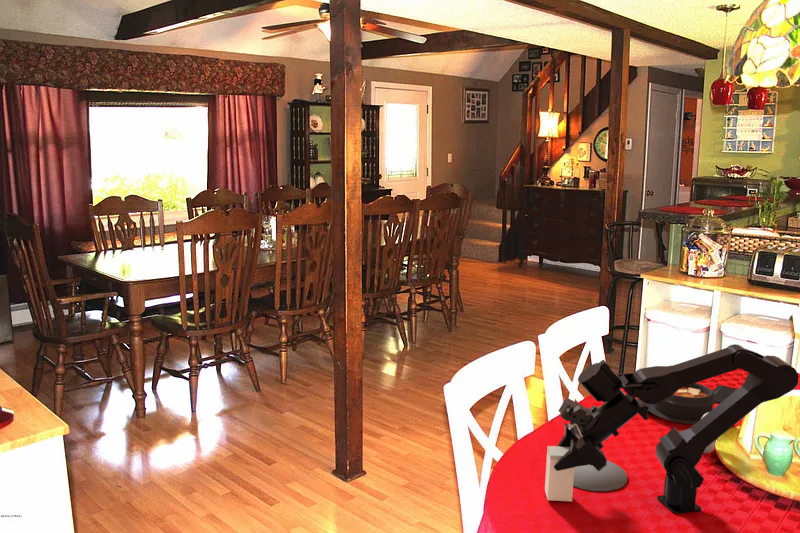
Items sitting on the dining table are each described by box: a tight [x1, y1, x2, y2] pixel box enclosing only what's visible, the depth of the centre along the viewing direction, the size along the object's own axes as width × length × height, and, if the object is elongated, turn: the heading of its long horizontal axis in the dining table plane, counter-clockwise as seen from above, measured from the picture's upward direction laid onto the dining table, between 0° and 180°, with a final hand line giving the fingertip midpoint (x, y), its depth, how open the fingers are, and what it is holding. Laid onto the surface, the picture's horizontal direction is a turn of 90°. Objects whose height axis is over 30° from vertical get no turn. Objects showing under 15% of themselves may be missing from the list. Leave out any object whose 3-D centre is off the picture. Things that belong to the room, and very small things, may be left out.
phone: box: [712, 384, 737, 403], centre depth 213 cm, size 8×1×15 cm
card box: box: [544, 445, 574, 502], centre depth 150 cm, size 5×4×10 cm
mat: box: [573, 460, 628, 492], centre depth 162 cm, size 16×16×1 cm
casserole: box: [636, 382, 718, 426], centre depth 196 cm, size 25×19×8 cm
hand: (553, 463), depth 149 cm, fingers closed on card box, 4 cm apart
